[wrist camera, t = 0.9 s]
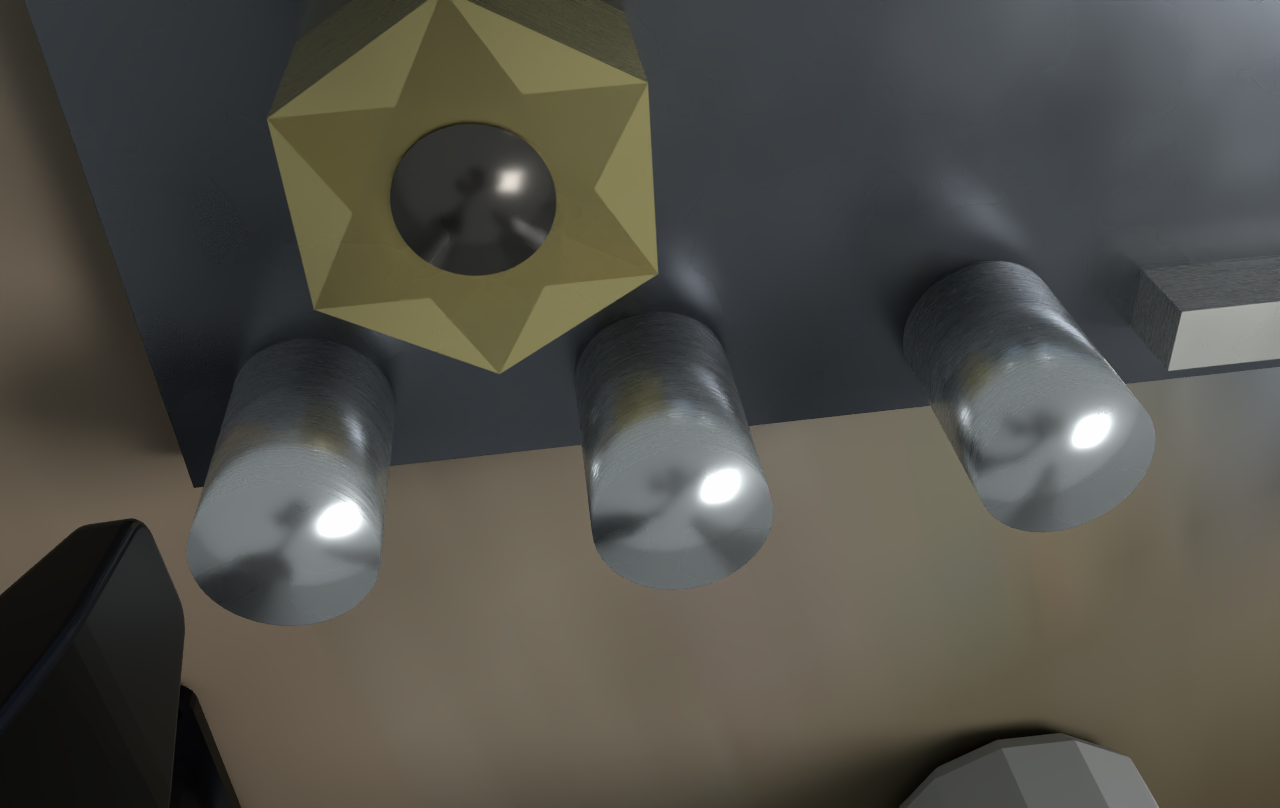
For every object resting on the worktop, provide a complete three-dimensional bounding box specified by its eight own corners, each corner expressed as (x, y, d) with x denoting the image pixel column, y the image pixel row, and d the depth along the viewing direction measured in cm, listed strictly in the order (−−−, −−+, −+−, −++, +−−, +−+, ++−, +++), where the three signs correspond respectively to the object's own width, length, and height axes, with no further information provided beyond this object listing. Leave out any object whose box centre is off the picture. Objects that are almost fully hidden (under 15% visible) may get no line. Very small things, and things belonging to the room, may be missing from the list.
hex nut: (618, -87, 17) (643, -28, 15) (640, 261, 20) (662, 359, 18) (274, -58, 17) (237, 9, 14) (351, 291, 20) (333, 395, 17)
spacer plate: (1459, 320, 24) (1658, 473, 20) (205, 458, 23) (146, 653, 19) (1778, -486, 17) (2197, -502, 13) (-67, -355, 15) (-267, -327, 11)
